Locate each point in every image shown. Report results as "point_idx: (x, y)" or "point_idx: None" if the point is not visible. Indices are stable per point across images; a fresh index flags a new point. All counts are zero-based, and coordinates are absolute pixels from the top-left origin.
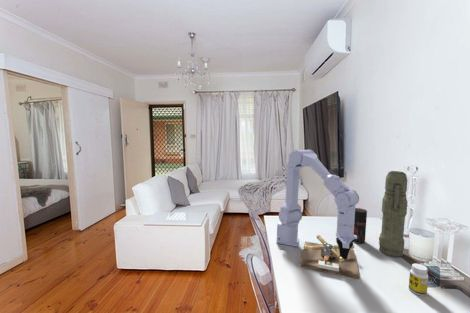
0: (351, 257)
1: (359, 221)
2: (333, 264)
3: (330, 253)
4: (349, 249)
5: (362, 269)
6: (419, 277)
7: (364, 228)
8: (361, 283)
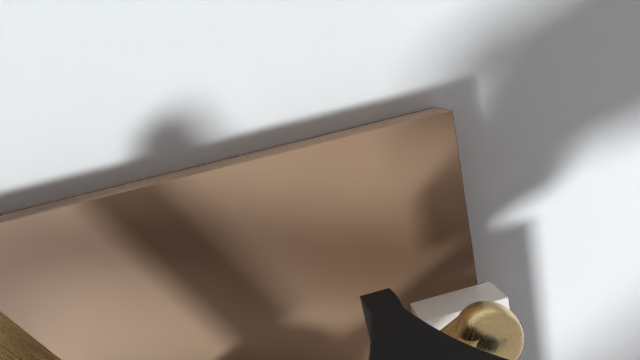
0: (94, 246)
1: None
2: None
3: None
4: (496, 357)
5: (220, 101)
6: None
7: None
8: (494, 76)
